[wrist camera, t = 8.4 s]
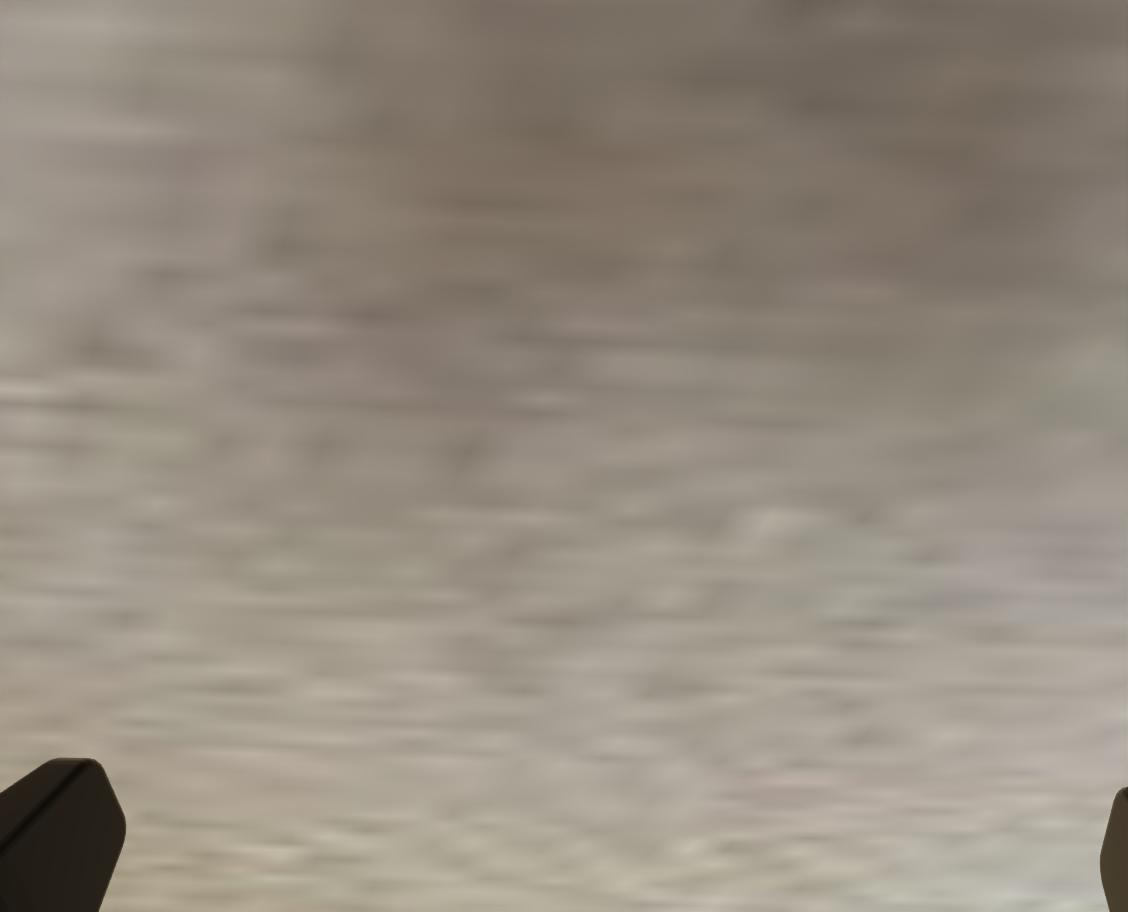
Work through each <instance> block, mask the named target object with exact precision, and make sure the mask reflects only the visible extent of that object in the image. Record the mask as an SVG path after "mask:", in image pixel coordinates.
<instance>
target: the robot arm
mask: <svg viewBox="0 0 1128 912" xmlns="http://www.w3.org/2000/svg"><path fill="white" fill-rule="evenodd" d="M125 835H126V821H125V816H124V813H123V811H122V808H121V806H120V804H119V802H118V799H117V797H116V795H115V793H114V791H113V788H112V786H111V784H110V782H109V779H108V777H107V775H106V773H105V770H104V768H103V767H102V765H101V764H100V763H98V762H97V761H96V760H94V759H90V758H56V759H52V760H50V761H48V762H46V763H44V764H43V765H41V766H40V767H38V768H37V769H35V770H34V771H32V772H31V773H29V774H28V775H26V776H25V777H23V778H22V779H20V780H19V781H17V782H16V783H14V784H13V785H12V786H10V787H9V788H7V789H6V790H4V791H3V792H1V793H0V912H99V909H100V907H101V904H102V901H103V899H104V896H105V893H106V891H107V888H108V885H109V882H110V880H111V877H112V874H113V872H114V869H115V866H116V863H117V861H118V858H119V855H120V853H121V850H122V847H123V844H124V840H125ZM1100 873H1101V879H1102V884H1103V888H1104V892H1105V896H1106V900H1107V903H1108V907H1109V911H1110V912H1128V787H1125V788H1122V789H1121V790H1119V792H1118V793H1117V794H1116V796H1115V799H1114V802H1113V806H1112V810H1111V814H1110V818H1109V822H1108V826H1107V830H1106V834H1105V837H1104V841H1103V845H1102V849H1101V855H1100Z"/></svg>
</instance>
